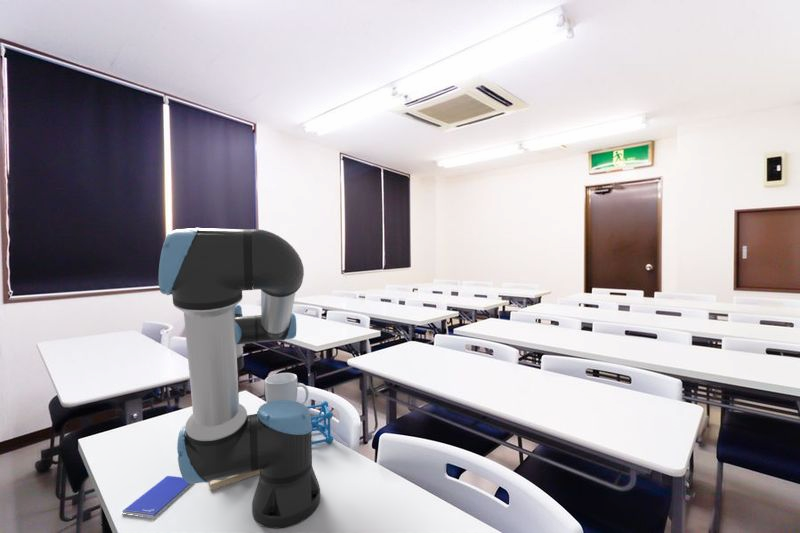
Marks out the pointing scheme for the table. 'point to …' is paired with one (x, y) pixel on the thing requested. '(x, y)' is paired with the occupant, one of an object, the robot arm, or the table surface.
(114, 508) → the table surface
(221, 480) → the wooden base mechanism
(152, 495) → the hard drive
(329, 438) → the molecular structure
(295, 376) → the mug
